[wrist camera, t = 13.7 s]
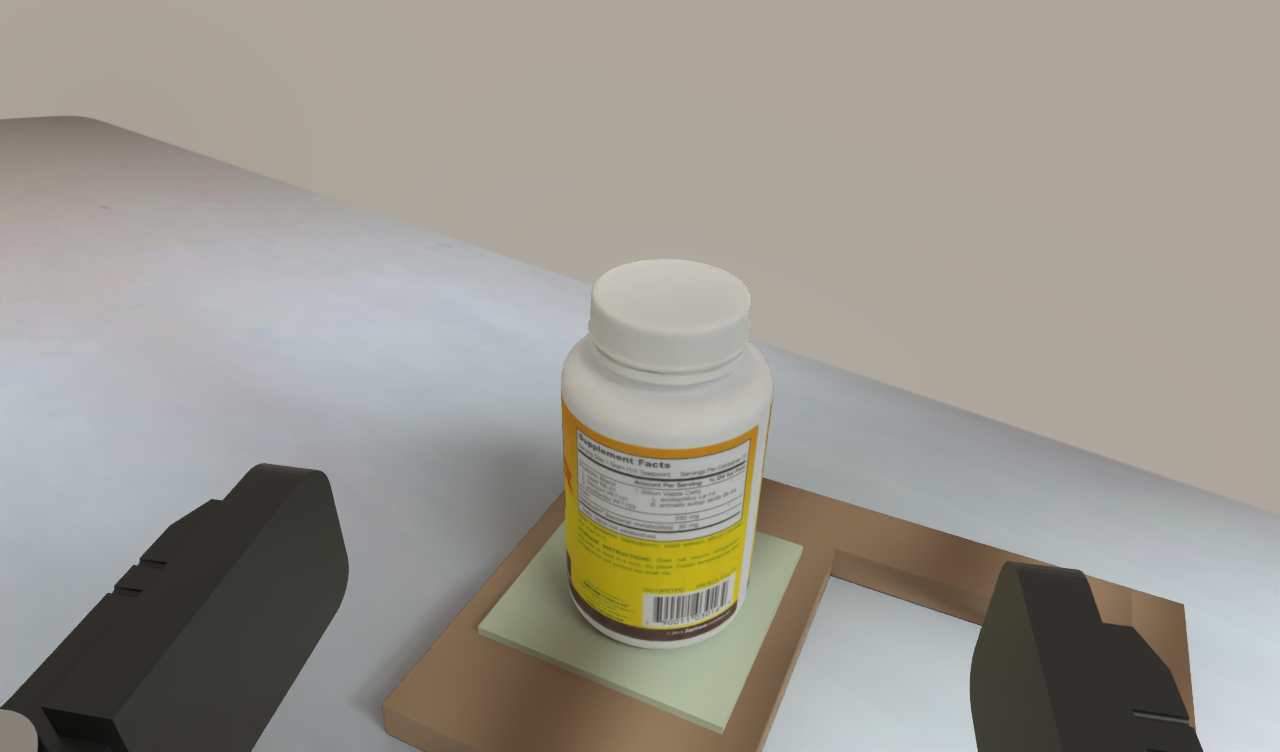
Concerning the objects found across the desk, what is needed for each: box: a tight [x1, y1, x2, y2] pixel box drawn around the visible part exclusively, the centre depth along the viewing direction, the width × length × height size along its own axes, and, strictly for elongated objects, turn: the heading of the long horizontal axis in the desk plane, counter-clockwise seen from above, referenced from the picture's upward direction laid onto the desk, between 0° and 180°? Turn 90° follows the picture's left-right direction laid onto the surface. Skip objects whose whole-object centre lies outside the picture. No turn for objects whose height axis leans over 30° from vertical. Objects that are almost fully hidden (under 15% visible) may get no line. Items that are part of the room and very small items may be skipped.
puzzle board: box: [381, 478, 1196, 752], centre depth 26 cm, size 20×14×2 cm
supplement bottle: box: [561, 259, 773, 649], centre depth 24 cm, size 6×6×10 cm
